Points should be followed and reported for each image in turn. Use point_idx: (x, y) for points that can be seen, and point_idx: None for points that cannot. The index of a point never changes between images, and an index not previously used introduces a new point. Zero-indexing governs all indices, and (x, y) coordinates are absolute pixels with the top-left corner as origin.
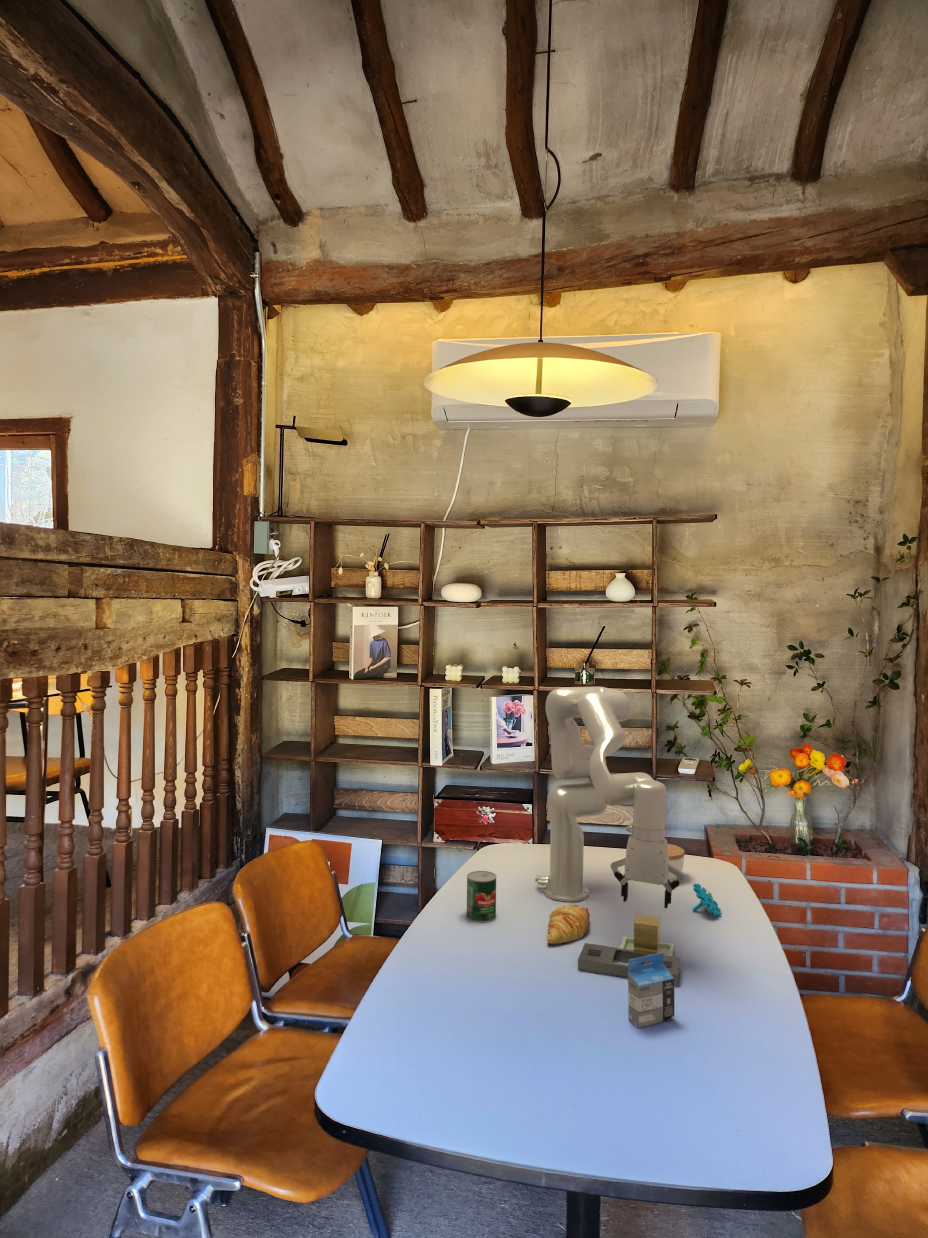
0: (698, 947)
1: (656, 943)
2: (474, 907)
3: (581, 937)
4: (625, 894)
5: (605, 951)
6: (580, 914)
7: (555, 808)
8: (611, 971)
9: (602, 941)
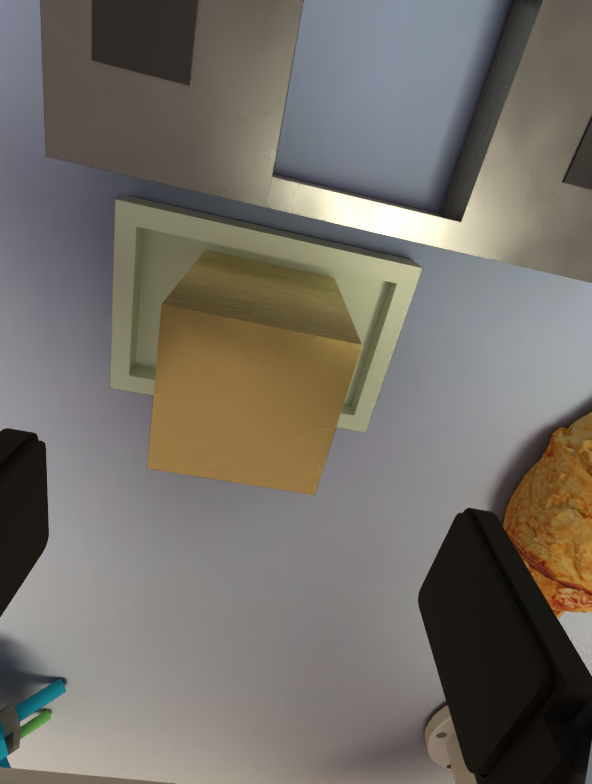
0: (7, 424)
1: (196, 269)
2: None
3: (559, 430)
4: (509, 572)
5: (540, 180)
6: None
7: None
8: None
9: (458, 419)
